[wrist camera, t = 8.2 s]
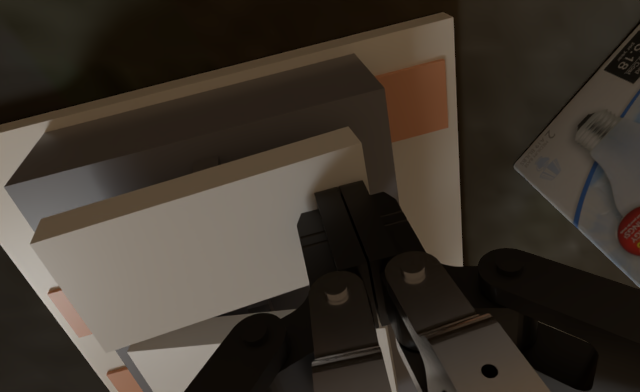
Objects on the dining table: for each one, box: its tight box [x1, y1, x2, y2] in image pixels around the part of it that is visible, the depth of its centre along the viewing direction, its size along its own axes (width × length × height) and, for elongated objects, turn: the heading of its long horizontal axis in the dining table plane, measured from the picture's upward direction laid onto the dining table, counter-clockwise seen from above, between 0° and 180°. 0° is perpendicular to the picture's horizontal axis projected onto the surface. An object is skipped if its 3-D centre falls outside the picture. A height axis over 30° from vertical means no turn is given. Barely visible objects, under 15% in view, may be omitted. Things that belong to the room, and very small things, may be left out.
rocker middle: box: [127, 309, 398, 392], centre depth 18 cm, size 9×4×1 cm, turn 102°
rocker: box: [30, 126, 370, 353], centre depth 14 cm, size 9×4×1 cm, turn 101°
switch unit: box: [0, 12, 463, 392], centre depth 21 cm, size 20×18×6 cm
